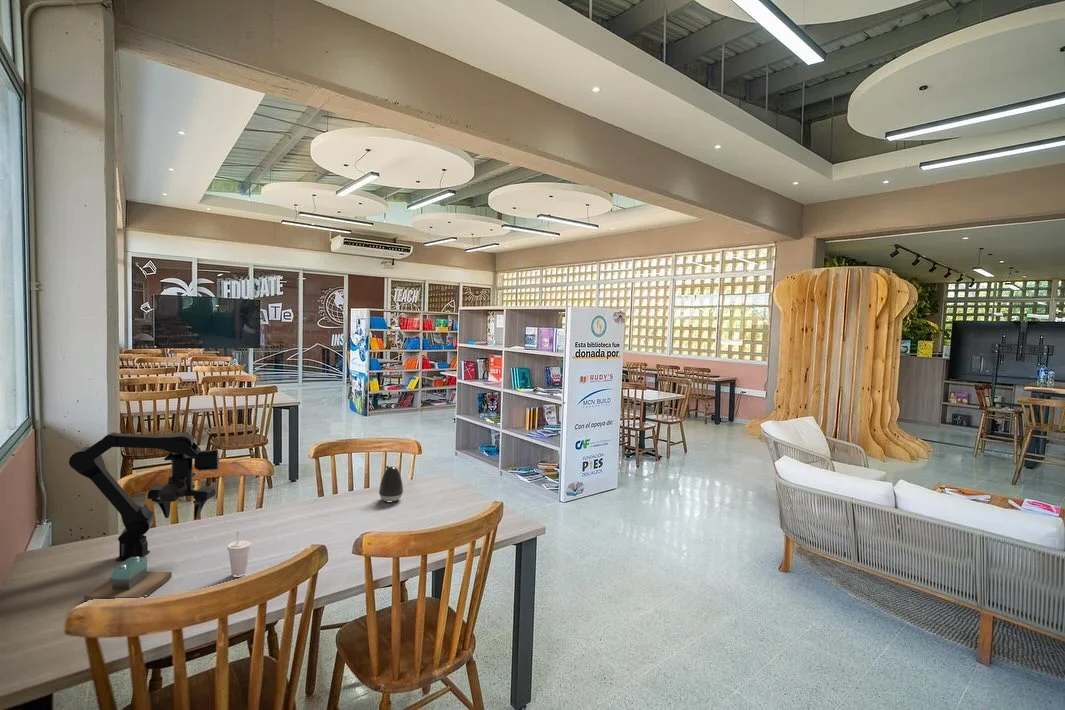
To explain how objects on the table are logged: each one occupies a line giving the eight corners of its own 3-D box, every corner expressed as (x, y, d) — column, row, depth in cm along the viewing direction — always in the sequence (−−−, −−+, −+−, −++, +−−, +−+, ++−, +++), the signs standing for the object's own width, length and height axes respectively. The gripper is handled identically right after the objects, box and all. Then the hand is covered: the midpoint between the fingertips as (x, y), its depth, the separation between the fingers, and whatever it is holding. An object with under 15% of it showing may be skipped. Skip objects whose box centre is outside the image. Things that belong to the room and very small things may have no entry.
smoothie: (224, 574, 157) (224, 529, 156) (247, 567, 161) (248, 524, 161) (230, 582, 152) (230, 536, 152) (253, 575, 157) (254, 531, 156)
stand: (83, 603, 138) (83, 596, 138) (122, 577, 152) (122, 570, 152) (138, 604, 139) (138, 597, 139) (171, 578, 153) (171, 571, 153)
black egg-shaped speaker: (396, 494, 234) (397, 462, 233) (406, 501, 226) (408, 467, 225) (374, 499, 227) (375, 465, 226) (384, 506, 219) (385, 471, 218)
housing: (130, 577, 149) (130, 555, 148) (146, 577, 149) (146, 556, 149) (112, 589, 142) (112, 567, 141) (129, 590, 142) (129, 567, 142)
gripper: (134, 478, 160) (134, 527, 161) (197, 480, 161) (196, 529, 162) (158, 468, 171) (158, 513, 172) (216, 470, 172) (216, 515, 173)
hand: (181, 518), depth 170 cm, fingers open, 9 cm apart
